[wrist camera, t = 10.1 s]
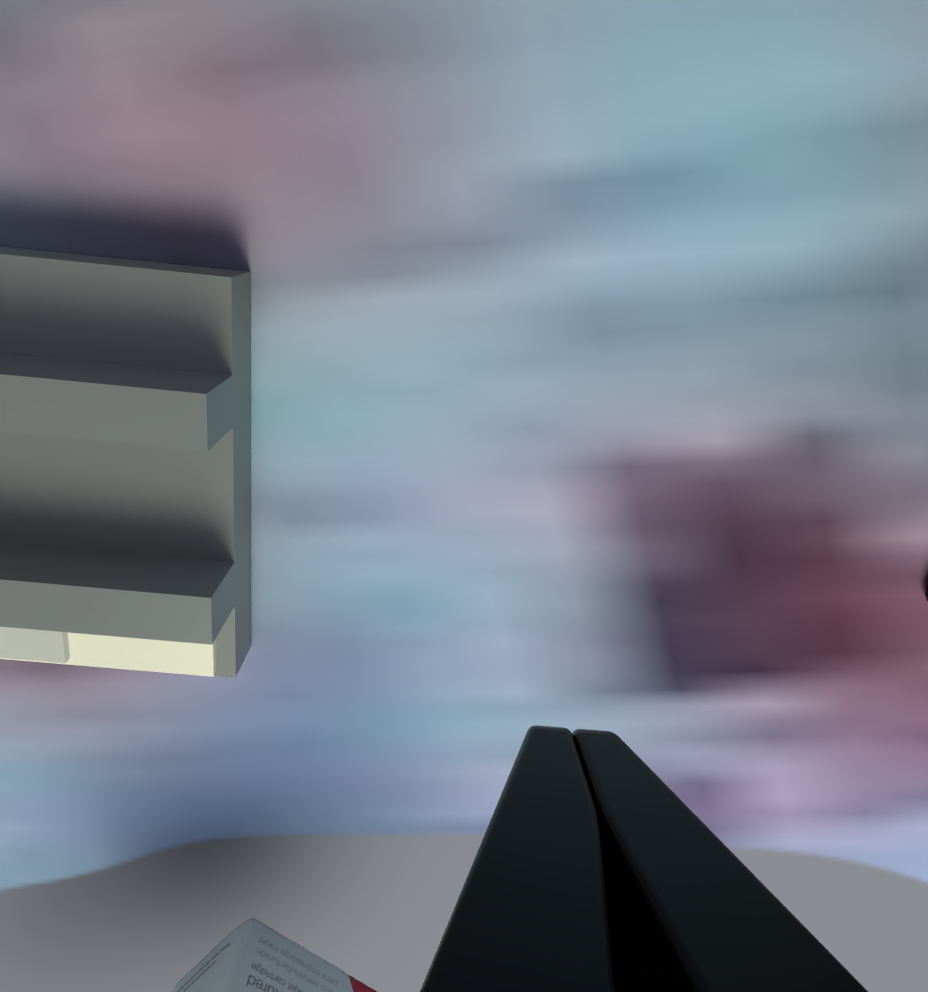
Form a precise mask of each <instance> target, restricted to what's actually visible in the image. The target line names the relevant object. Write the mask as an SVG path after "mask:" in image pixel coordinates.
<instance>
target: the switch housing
mask: <svg viewBox="0 0 928 992" xmlns="http://www.w3.org/2000/svg"><path fill="white" fill-rule="evenodd" d="M250 647H251V373H250V272H248V271H238V270H228V269H218V268H209V267H199V266H189V265H179V264H169V263H159V262H150V261H140V260H130V259H120V258H110V257H100V256H90V255H81V254H71V253H61V252H51V251H41V250H31V249H22V248H12V247H2V246H0V659H9V660H21V661H33V662H45V663H57V664H69V665H80V666H92V667H104V668H116V669H128V670H140V671H152V672H164V673H175V674H187V675H199V676H211V677H214V675H216V676H228V677H236V675H237V673H238V671H239V669H240V667H241V665H242V663H243V661H244V659H245V657H246V655H247V653H248V651H249V649H250Z"/></svg>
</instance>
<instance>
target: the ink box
mask: <svg viewBox="0 0 928 992" xmlns="http://www.w3.org/2000/svg"><path fill="white" fill-rule="evenodd" d="M172 992H376V991H375V990H373V989H372V988H370V987H367V986H366V985H365V984H363V983H362V982H360V981H358V980H356V979H354V978H353V977H351V976H349V975H347V974H345V972H343V971H342V970H340V969H339V968H337V967H336V966H334V965H332V964H330V963H328V962H327V961H325V960H323V959H322V958H320V957H318V956H317V955H315V954H313V953H311V952H310V951H308V950H307V949H305V948H303V947H301V946H300V945H298V944H296V943H295V942H293V941H291V940H289V939H288V938H286V937H284V936H283V935H281V934H279V933H278V932H276V931H274V930H273V929H271V928H269V927H268V926H266V925H264V924H263V923H261V922H259V921H258V920H256V919H249V920H247V921H246V922H244V923H243V924H242V925H241V926H239V927H238V928H236V929H235V930H234V931H232V932H231V933H230V934H229V935H228V936H227V937H226V938H224V939H223V940H222V941H221V942H220V943H219V944H218V945H217V946H216V947H215V948H214V949H213V950H212V951H211V952H210V953H209V954H208V955H207V956H206V957H205V958H204V959H203V960H202V961H201V962H200V963H199V964H197V965H196V966H195V967H194V968H193V969H192V970H191V971H190V972H189V973H188V974H187V975H186V976H185V977H184V978H183V979H181V980H180V981H179V983H177V984H176V985H175V986H174V988H173V990H172Z"/></svg>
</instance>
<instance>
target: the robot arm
mask: <svg viewBox="0 0 928 992" xmlns="http://www.w3.org/2000/svg"><path fill="white" fill-rule="evenodd" d="M925 596H926V599H927V601H928V586H927V587H926V592H925ZM420 992H868V991H867V990H866V989H865V988H864V987H863V986H862V985H861V984H860V983H859V982H858V981H857V980H856V979H855V978H854V977H853V976H852V975H851V974H850V973H849V972H848V970H847V969H845V967H843V965H841V963H840V962H839V961H838V960H837V959H836V958H835V957H834V956H833V955H832V954H831V953H830V952H829V951H828V950H827V949H826V948H825V947H824V946H823V945H822V944H821V943H820V942H819V941H818V940H817V939H816V938H815V937H814V936H813V935H812V934H811V933H810V932H809V931H808V930H807V929H806V928H805V927H804V926H803V925H802V924H801V923H800V921H798V919H796V917H795V916H794V915H793V914H791V912H790V911H789V910H788V909H787V908H786V907H785V906H784V905H783V904H782V903H781V902H780V901H779V900H778V899H777V898H776V897H775V896H774V895H773V894H772V893H771V892H770V891H769V890H768V889H767V888H766V887H765V886H764V885H763V884H762V883H761V882H760V881H759V880H758V879H757V878H756V877H755V876H754V874H753V873H752V872H751V871H749V869H748V868H747V867H746V866H745V865H744V864H743V863H742V862H741V861H740V860H739V859H738V858H737V857H736V856H735V855H734V854H733V853H732V852H731V851H730V850H729V849H728V848H727V847H726V846H725V845H724V844H723V843H722V842H721V841H720V840H719V839H718V838H717V837H716V836H715V835H714V834H713V833H712V832H711V831H710V830H709V829H708V827H707V826H706V825H705V824H704V823H703V822H702V821H701V820H700V819H699V818H698V817H697V816H696V815H695V814H694V813H693V812H692V811H691V810H690V809H689V808H688V807H687V806H686V805H685V804H684V803H683V802H682V801H681V800H680V799H679V798H678V797H677V796H676V795H675V794H674V793H673V792H672V791H671V790H670V789H669V788H668V787H667V786H666V785H665V784H664V783H663V782H662V781H661V779H660V778H659V777H658V776H657V775H656V774H655V773H654V772H653V771H652V770H651V769H650V768H649V767H648V766H647V765H646V764H645V763H644V762H643V761H642V760H641V759H640V758H639V757H638V756H637V755H636V754H635V753H634V752H633V751H632V750H631V749H630V748H629V747H628V746H627V745H626V744H625V743H624V742H623V741H622V740H621V739H620V738H619V737H618V736H617V735H616V734H614V733H612V732H609V731H598V730H585V729H577V730H575V731H574V732H573V733H571V731H569V730H568V729H566V728H561V727H549V726H537V725H536V726H532V727H530V728H529V729H528V731H527V734H526V736H525V738H524V741H523V743H522V746H521V748H520V751H519V753H518V755H517V758H516V760H515V763H514V765H513V767H512V770H511V772H510V775H509V777H508V780H507V782H506V784H505V787H504V789H503V792H502V794H501V797H500V799H499V801H498V804H497V806H496V809H495V811H494V814H493V816H492V818H491V821H490V823H489V826H488V828H487V831H486V833H485V835H484V838H483V840H482V843H481V845H480V848H479V850H478V852H477V855H476V857H475V860H474V862H473V865H472V867H471V870H470V872H469V875H468V877H467V879H466V882H465V884H464V887H463V889H462V891H461V894H460V896H459V899H458V901H457V903H456V906H455V908H454V911H453V913H452V915H451V918H450V921H449V923H448V925H447V928H446V930H445V932H444V935H443V937H442V940H441V942H440V945H439V947H438V950H437V952H436V954H435V957H434V959H433V962H432V964H431V967H430V969H429V971H428V974H427V976H426V979H425V981H424V983H423V986H422V988H421V991H420Z"/></svg>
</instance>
